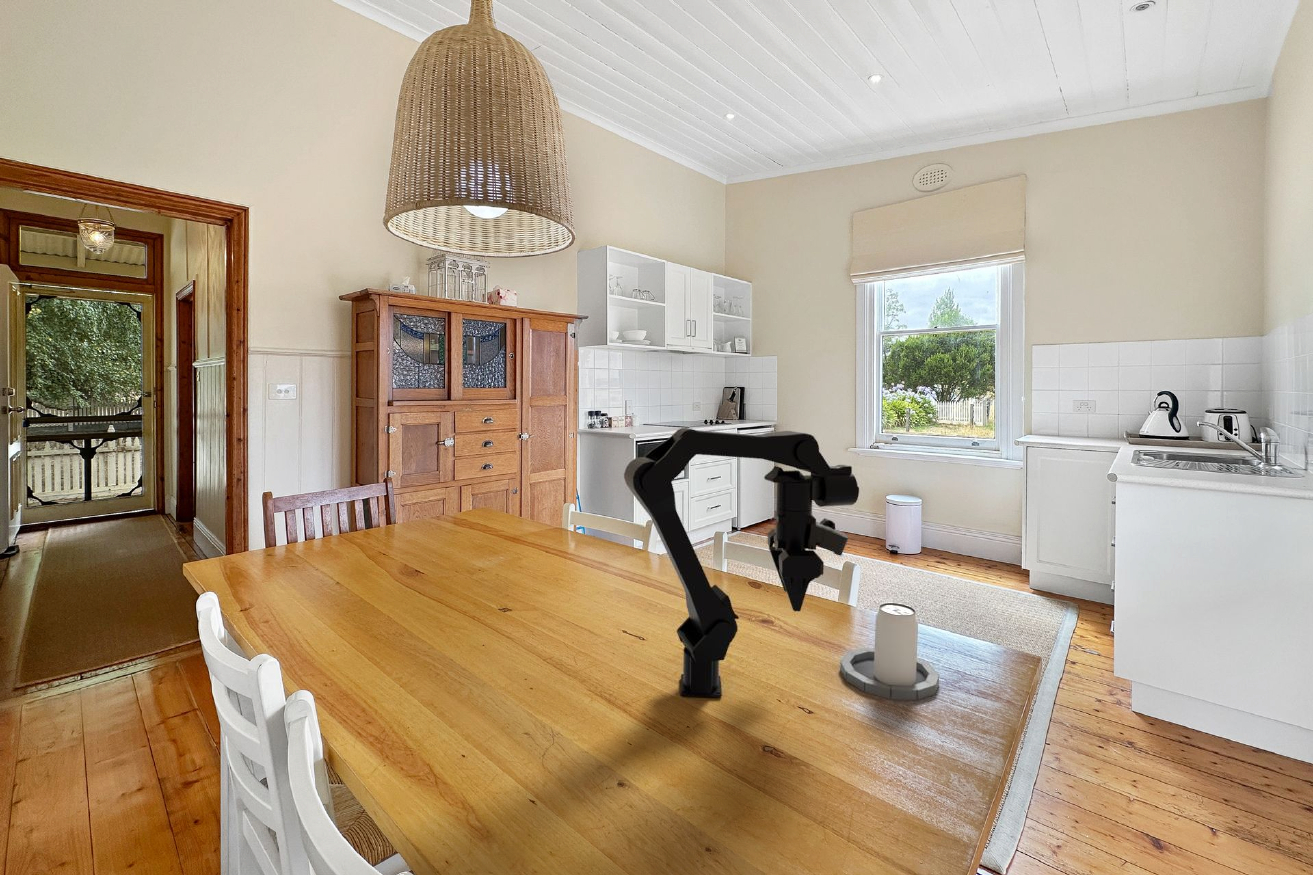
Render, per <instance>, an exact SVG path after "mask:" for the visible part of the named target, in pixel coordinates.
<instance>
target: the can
mask: <svg viewBox="0 0 1313 875" xmlns="http://www.w3.org/2000/svg"><path fill="white" fill-rule="evenodd" d="M916 612H917V610H916V609H915V608H913V607H912V606H910V605H908V604H904V603H900V602H883V603H881V604H879V606H878V611H877V612H876V615H875V628H874V648H875V650H874V676H875V677H876V679H877V680H878V681H879V682H882V683H886V684H889V685H911V686H912V685H913V684H914V683H915V681H916V664H917V658H918V642H919V641H918V639H919V638H918V635H919V619H918V617H917V614H916Z"/></svg>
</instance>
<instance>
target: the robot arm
mask: <svg viewBox="0 0 1313 875" xmlns="http://www.w3.org/2000/svg"><path fill="white" fill-rule="evenodd" d="M696 455H698V456H700V455H702V456H716V457H727V458H728V457H730V458H741V459H742V458H745V459H758V460H759V459H760V460H764V461H765V460H766V461H769V462H773V463H777V464H780V465H784V466H788V467H791V468H796V469H797V470H784V469H783V468H782V467H780V466H776V465H775V466H773V468H772V469H771V470H770V471H769V472H768V473H767V474H765V475H764V480H766V481H768V482H771V483H775V484H776V502H775V504H776V507H775V509H776V510H774V513H773V514H774V515H773V516H774V518H775V528H772V529H771V530H770V531H768V532H767V545H768V550H769V553H770V556H771V557H772V560H773V564H774V566H775V569H776V571H777V574H778V576H779V577H778V578H779V580H780V584H781V585H782V588H783V591H784V592H786V594H787V596H788V601H789V602H790V605H791V608H792V610H793V612H801V610H802V607H803V603H804V601H805V596H806V594H807V591H808V589H809V588H808V587H809V585H810V583H811V582H812V581H813V580H815V579H818V578H820V577H821V576H822V575H824V571H825V570H824V563H825V562H824V561H823V560H822V558H821V557H820V555H819V554H817V553H816V550H817V547H819V548H822V549H824V550H827V551H830V552H832V553H833V554H834V555H837V556H839V557H840V556H842V555H843V552H844V550H845V549H846V546H847V543H848V541H849V537H848V536H847V535H846V534H845V533H844V532H842V531H841V530H839V529H836V523H835V522H834V521H833V520H831V519H828V518H825V517H824V518H823V519H822V520H820V522H819V521H817V518H815V516H814V515H813V502H814V503H815V505H817V506H818V507H820V508H821V507H825V508H826V507H839V506H840V507H842V506H843V507H844V506H853V505H855V504H856V503H857V501H858V498H859V494H860V487H859V486H858V482H857V479H856V477H855V474H853V467H852V466H851V465H848V464H838V465H831V466H830V465H829V463H828V462H827V461H826V459H825V458H824V456H823V455H822V453H821V452H820V446H819V443H818V440H817V439H816V437H815V436H814V435H812V434H809V433H805V432H799V431H791V430H783V431H781V430H780V431H772V432H767V433H763V434H748V433H734V432H723V431H722V432H721V431H712V430H711V431H710V430H699V429H698V430H697V429H693V428H687V427H681V428H679V429H678V430H676V431H675V432H674V433H673V434H672V435H671V436H669V437H668V438H667V439H665V440H664V441H663V442H660V444H658V445H657V446H655V447H654V448H652V449H651V450H650V451H649V452H648V453H646V454H645V455H644V456H642V457H641V456H639V457H637V458H634V459H633V460H631V461H630V462H629V463H628V464H627V466H625V470H624V473H623V478H624V482H625V484H626V486H627V487H628V488H629V490H630V492H631V493H632V494H633V496H634V497H635V498H636V500H637V502H638V503H639V504H640V506H642V508H643V509H644V510H645V512H646V513H647V514H648V516H649V517H650V518H651V522H652V523H653V525H654V527H655V530H656V531H657V533H658V535H659V538H660V541H661V543H662V545H663V547H664V549H665V550H666V553H667V555H668V558H669V560H670V562H671V564H672V566H673V568H674V570H675V574H676V575H677V577H678V580H679V581H680V583H681V585H682V587H683V589H684V594H685V602H686V608H687V612H688V617H687V618H686V619H685V620H684V621H683V622H682V623H681V625H679V627H678V628H677V629H676V633H677V634H676V635H677V637H678V640H679V642H680V643H682V645H683V646H684V648H683V651H682V652H683V659H682V660H683V662H682V664H683V667H682V668H683V669H682V670H683V673H681V675H680V691H679V692H680V696H681V697H698V698H699V697H700V698H701V697H702V698H722V697H723V693H722V681H721V679H722V678H721V675H720V661H724V660H725V658H726V656H727V652H728V650H729V648H730V644H731V643H732V642H733V641H734V639H735V637H736V634H737V633H738V631H739V630H738V629H739V628H738V624H737V620H739V619H740V616H738V615H737V614H736V612H735V611H734V610H733V609H734V608H733V605H732V601H731V599H730V597H729V595H728V594H727V593H726V592H725V591H724V590H722V589H721V588H720V587H719V586H718V585H717V584H714V585H712V586H711V584H710V582H709V580H708V578H707V575H706V573H705V571H704V568H703V567H702V564H701V562H700V560H699V558H698V556H697V553H696V551H695V549H694V547H693V544H692V542H691V539H690V538H689V536H688V532H686V531H687V530H686V529H685V526H684V525H683V522H682V519H681V517H680V515H679V513H678V511H677V505H676V496H675V490H674V486H673V482H672V481H674V480H675V479H676V478H677V477H678V476H679V475H680V474H681V473H682V472H683V471H684V469H685V468H686V466H687V465H688V464H689V462H690V461H691V460H693V458H694V457H695V456H696ZM799 470H800V471H799ZM801 471H805V472H807V473H810V475H808V474H807V475H804V474H803V473H802V472H801Z"/></svg>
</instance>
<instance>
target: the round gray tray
mask: <svg viewBox="0 0 1313 875" xmlns="http://www.w3.org/2000/svg"><path fill="white" fill-rule="evenodd" d="M874 650H875V647H862V648H858V649H854V650H849V651H847V652H846V653H845V654H844V655H843V656H842V657H841V659H840V661H839V662H840V664H839V667H840V668H839V670H840V672H841V674H842V676H843V678H844V680H845V681H846V682H847V683H849V684H850V685H852V686H854V687H855V688H856V689H859V690H860V691H861V692H865V693H867V694H870V695H873V696H878V697H881V698H885V699H888V700H890V699H891V700H894V701H895V700H899V701H900V700H901V701H902V700H903V701H919V700H922V699H926V698H929V697H931V696H935V695H936V693H937V691H938V689H939V685H940V674H939V673H938V672H937V670H936V669H935V668H934V667H933V666H932V664H931V663H929V662H927V661H925V660H924V659H922V658H919V657H917V664H916V681H915V683H914V684H913V685H912V686H911V685H889V684H886V683H882V682H879V681H878V680H877V679H876V677H875V676H874Z"/></svg>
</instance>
